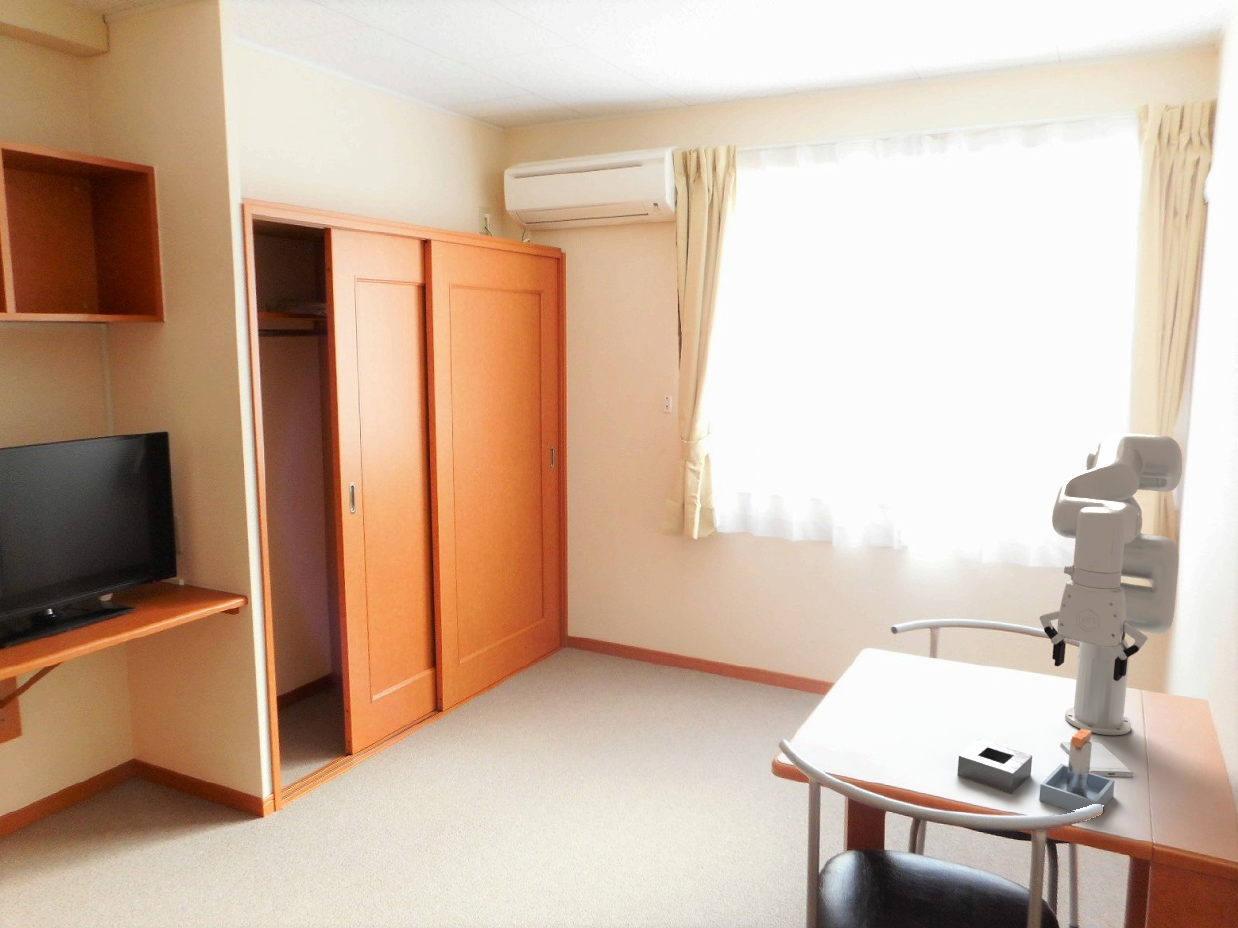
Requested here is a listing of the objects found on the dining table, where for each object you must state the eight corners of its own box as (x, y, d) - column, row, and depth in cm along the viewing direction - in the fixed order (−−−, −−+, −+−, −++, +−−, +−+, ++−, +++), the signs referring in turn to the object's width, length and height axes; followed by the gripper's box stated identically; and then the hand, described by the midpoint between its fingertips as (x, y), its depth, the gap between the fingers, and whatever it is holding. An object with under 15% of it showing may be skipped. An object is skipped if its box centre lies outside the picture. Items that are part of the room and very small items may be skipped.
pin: (1061, 795, 163) (1066, 734, 162) (1071, 786, 167) (1076, 726, 165) (1081, 802, 161) (1087, 740, 159) (1091, 793, 164) (1096, 732, 163)
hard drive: (1060, 741, 185) (1089, 769, 172) (1101, 742, 184) (1133, 771, 172) (1059, 749, 185) (1089, 778, 173) (1100, 750, 185) (1132, 779, 172)
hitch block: (978, 758, 179) (979, 738, 178) (1030, 775, 172) (1032, 755, 172) (957, 775, 172) (958, 755, 171) (1011, 793, 165) (1012, 773, 164)
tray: (1059, 778, 171) (1061, 763, 171) (1113, 795, 165) (1114, 780, 164) (1039, 799, 163) (1040, 784, 162) (1094, 818, 157) (1096, 802, 156)
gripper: (1037, 572, 161) (1029, 664, 164) (1146, 592, 150) (1136, 690, 152) (1051, 565, 167) (1044, 653, 169) (1157, 583, 155) (1148, 678, 158)
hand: (1087, 671), depth 161 cm, fingers open, 9 cm apart
